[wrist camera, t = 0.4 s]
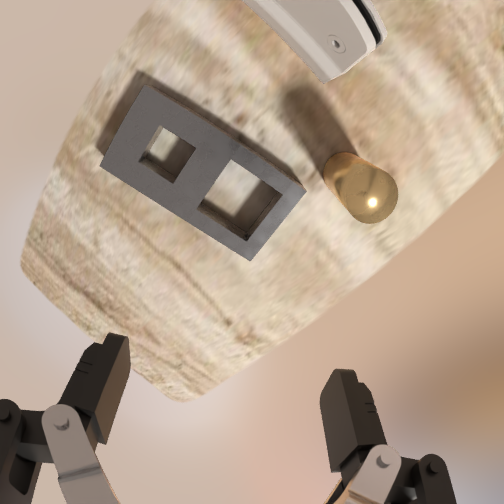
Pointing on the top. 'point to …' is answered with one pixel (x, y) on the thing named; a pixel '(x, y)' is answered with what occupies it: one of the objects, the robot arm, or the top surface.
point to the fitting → (361, 187)
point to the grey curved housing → (324, 31)
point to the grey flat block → (195, 170)
